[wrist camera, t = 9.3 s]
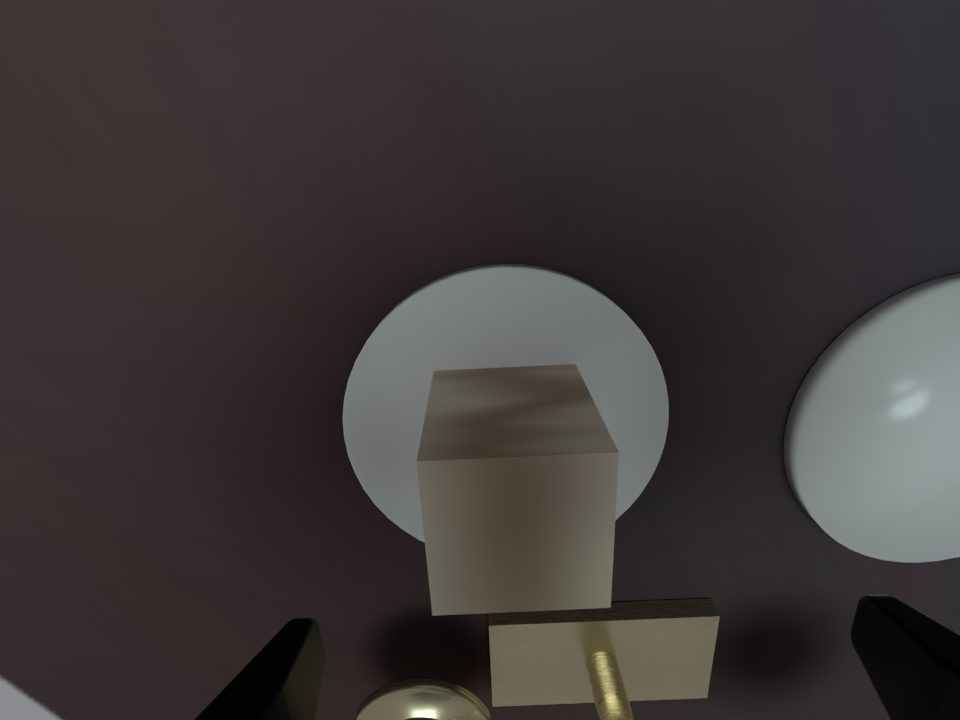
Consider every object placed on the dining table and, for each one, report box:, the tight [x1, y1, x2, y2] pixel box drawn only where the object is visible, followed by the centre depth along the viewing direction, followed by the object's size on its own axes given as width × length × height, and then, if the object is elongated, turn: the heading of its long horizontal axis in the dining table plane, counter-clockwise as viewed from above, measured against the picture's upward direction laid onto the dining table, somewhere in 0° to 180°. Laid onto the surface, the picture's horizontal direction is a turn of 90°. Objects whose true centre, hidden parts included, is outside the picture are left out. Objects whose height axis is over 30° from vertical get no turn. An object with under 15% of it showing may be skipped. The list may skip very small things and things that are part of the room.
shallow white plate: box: [783, 273, 960, 562], centre depth 20 cm, size 12×12×1 cm
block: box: [416, 364, 619, 616], centre depth 17 cm, size 5×5×6 cm
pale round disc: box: [343, 264, 669, 542], centre depth 20 cm, size 12×12×1 cm
